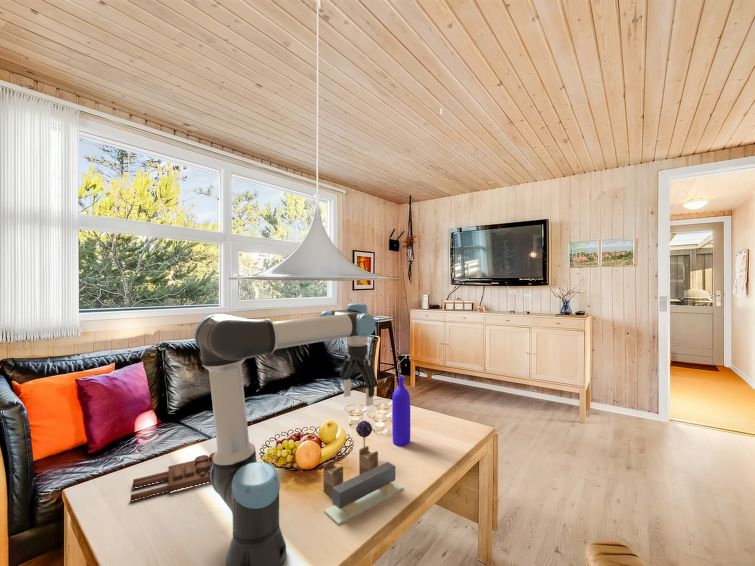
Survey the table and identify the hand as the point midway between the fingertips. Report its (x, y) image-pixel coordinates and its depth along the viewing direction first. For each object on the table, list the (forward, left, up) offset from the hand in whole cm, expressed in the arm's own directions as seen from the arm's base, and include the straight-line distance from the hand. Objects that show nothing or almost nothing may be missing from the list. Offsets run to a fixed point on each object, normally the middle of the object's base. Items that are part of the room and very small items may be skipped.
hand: (357, 400), depth 133 cm
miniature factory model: (-51, +42, -29) cm, 72 cm away
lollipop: (+11, +10, -29) cm, 32 cm away
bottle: (+32, +9, -29) cm, 44 cm away
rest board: (-7, -13, -29) cm, 32 cm away
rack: (-5, -3, -29) cm, 29 cm away
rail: (-7, -13, -26) cm, 30 cm away
